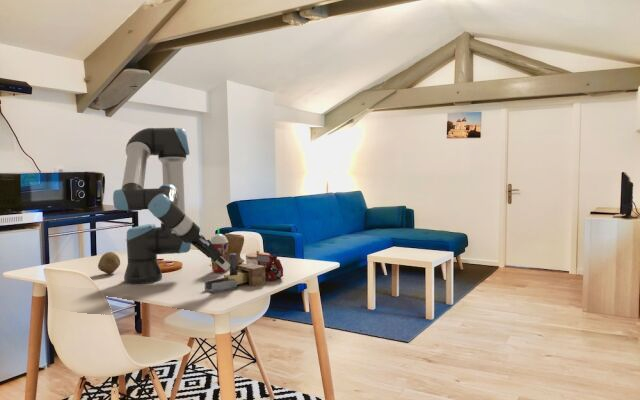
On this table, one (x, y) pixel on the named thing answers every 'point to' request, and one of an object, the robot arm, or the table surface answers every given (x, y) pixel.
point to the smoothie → (222, 246)
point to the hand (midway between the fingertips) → (227, 267)
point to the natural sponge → (109, 262)
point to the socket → (254, 273)
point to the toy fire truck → (270, 266)
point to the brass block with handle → (236, 271)
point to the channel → (220, 285)
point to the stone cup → (235, 245)
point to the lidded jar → (253, 257)
